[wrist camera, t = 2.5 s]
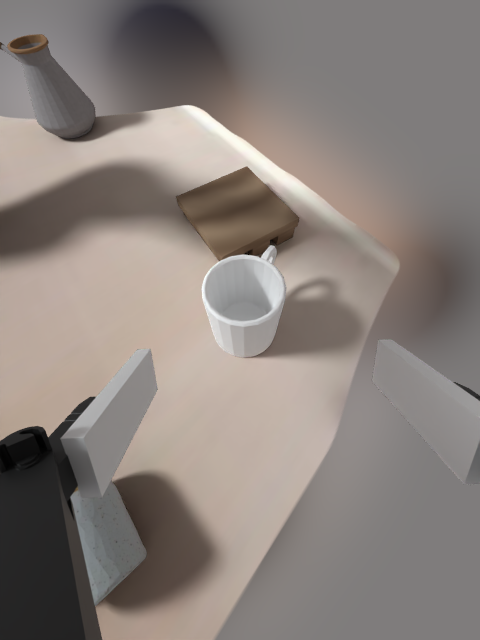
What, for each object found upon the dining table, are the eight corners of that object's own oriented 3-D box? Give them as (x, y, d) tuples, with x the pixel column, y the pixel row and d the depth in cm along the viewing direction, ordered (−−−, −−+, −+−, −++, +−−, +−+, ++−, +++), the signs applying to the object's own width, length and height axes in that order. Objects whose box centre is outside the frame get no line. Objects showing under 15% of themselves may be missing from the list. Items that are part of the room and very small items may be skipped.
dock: (181, 215, 42) (175, 196, 39) (246, 185, 44) (246, 166, 41) (223, 272, 37) (221, 257, 33) (295, 235, 39) (299, 218, 36)
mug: (296, 293, 35) (313, 243, 26) (258, 368, 30) (264, 340, 22) (244, 272, 37) (244, 218, 28) (202, 340, 32) (185, 303, 23)
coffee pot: (112, 119, 55) (68, 14, 41) (78, 149, 50) (15, 42, 37) (38, 100, 59) (-24, -1, 45) (0, 126, 54) (-81, 23, 41)
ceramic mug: (120, 464, 26) (74, 474, 19) (160, 542, 24) (122, 587, 17) (21, 543, 24) (-73, 587, 17) (52, 641, 21) (-45, 743, 14)
